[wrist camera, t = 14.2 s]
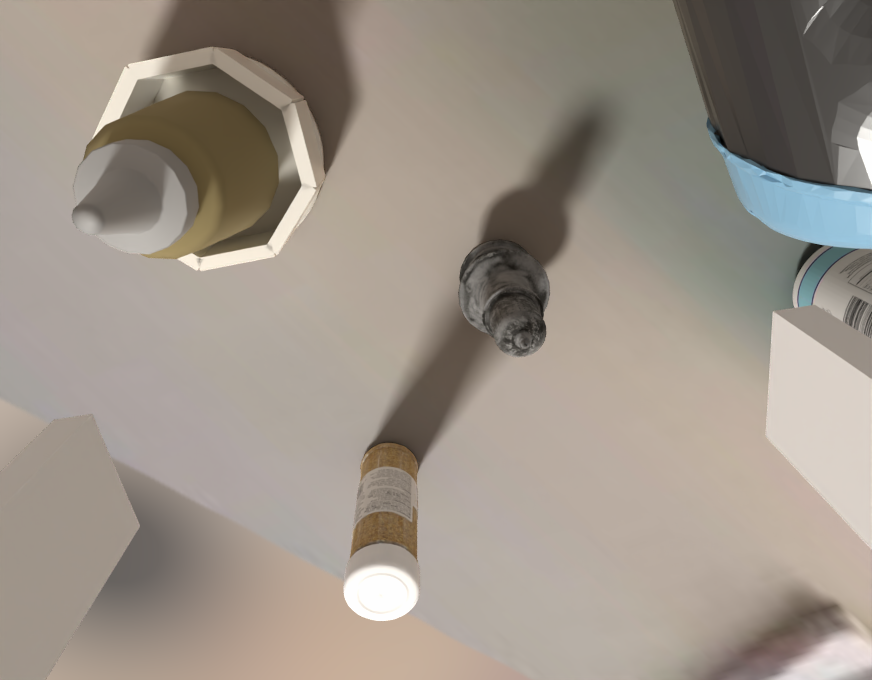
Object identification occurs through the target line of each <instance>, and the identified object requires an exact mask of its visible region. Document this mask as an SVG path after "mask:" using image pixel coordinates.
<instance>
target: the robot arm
mask: <svg viewBox="0 0 872 680" xmlns="http://www.w3.org/2000/svg"><path fill="white" fill-rule="evenodd" d="M673 3H674V6H675V9H676V12H677V16H678V19H679V22H680V26H681V29H682V32H683V35H684V39H685V42H686V45H687V48H688V52H689V55H690V58H691V61H692V65H693V68H694V71H695V74H696V78H697V81H698V84H699V87H700V91H701V94H702V97H703V101H704V104H705V107H706V110H707V114H708V120H707V123H706V124H707V128H708V132H709V136H710V138H711V140H712V142H713V144H714V146H715V147H716V148H717V149H718V150H719V151H720V153H721V154H722V155H723V158H724V160H725V163H726V166H727V169H728V171H729V174H730V177H731V180H732V182H733V185H734V188H735V191H736V193H737V195H738V198H739V200H740V201H741V203H742V204H743V205H744V207H745V208H746V210H747V211H748V212H749V213H750V214H752V215H754V216H756V217H757V218H759V219H760V220H761V221H762V222H763V223H764V224H766V225H767V226H768V227H769V228H771V229H773V230H774V231H776V232H779V233H781V234H784V235H786V236H789V237H792V238H795V239H799V240H802V241H806V242H810V243H815V244H820V245H826V246H833V247H842V248H856V249H872V0H673ZM766 437H767V438H768V440H769V441H770V442H771V443H772V444H773V445H774V446H775V447H776V448H777V449H778V450H779V451H780V452H781V453H782V455H783V456H784V457H785V458H786V459H787V460H788V461H789V462H790V463H791V464H792V465H793V466H794V467H795V468H796V469H797V471H798V472H799V473H800V474H801V475H802V476H803V477H804V478H805V479H806V480H807V481H808V482H809V483H810V484H811V486H812V487H813V488H814V489H815V490H816V491H817V492H818V493H819V494H820V495H821V496H822V497H823V498H824V499H825V500H826V502H827V503H828V504H829V505H830V506H831V507H832V508H833V509H834V510H835V511H836V512H837V513H838V514H839V515H840V516H841V518H842V519H843V520H844V521H845V522H846V523H847V524H848V525H849V526H850V527H851V528H852V529H853V530H854V531H855V533H856V534H857V535H858V536H859V537H860V538H861V539H862V540H863V541H864V542H865V543H866V544H867V545H868V546H869V547H870V549H871V550H872V339H871V338H869V337H867V336H866V335H864V334H862V333H861V332H859V331H857V330H856V329H854V328H852V327H851V326H849V325H847V324H846V323H844V322H842V321H841V320H839V319H837V318H836V317H834V316H832V315H831V314H829V313H827V312H826V311H824V310H822V309H821V308H819V307H818V306H816V305H810V306H803V307H797V308H790V309H784V310H777V311H773V320H772V337H771V354H770V371H769V388H768V404H767V421H766ZM139 527H140V525H139V523H138V520H137V518H136V515H135V513H134V511H133V509H132V506H131V504H130V502H129V499H128V497H127V495H126V492H125V490H124V487H123V485H122V483H121V480H120V478H119V476H118V473H117V471H116V469H115V466H114V464H113V462H112V459H111V457H110V454H109V452H108V450H107V447H106V445H105V443H104V440H103V438H102V436H101V433H100V431H99V429H98V426H97V424H96V422H95V419H94V417H93V415H92V414H88V415H82V416H75V417H69V418H62V419H55V420H53V421H52V422H51V423H50V424H49V425H48V426H47V427H46V428H45V429H44V430H43V431H42V432H41V433H40V434H39V435H38V436H37V437H36V438H35V439H34V440H33V441H32V442H30V443H29V444H28V445H27V446H26V447H25V448H24V449H23V450H22V451H21V452H20V453H19V454H18V455H17V456H16V457H15V458H14V459H13V460H12V461H11V462H10V463H9V464H8V465H7V466H6V467H4V468H3V469H2V470H1V471H0V680H46V679H47V677H48V675H49V674H50V672H51V671H52V669H53V667H54V666H55V664H56V662H57V661H58V659H59V657H60V656H61V654H62V653H63V651H64V649H65V648H66V646H67V644H68V643H69V641H70V640H71V638H72V636H73V635H74V633H75V631H76V630H77V628H78V626H79V625H80V623H81V622H82V620H83V618H84V617H85V615H86V613H87V612H88V610H89V609H90V607H91V605H92V604H93V602H94V600H95V599H96V597H97V595H98V594H99V592H100V591H101V589H102V587H103V586H104V584H105V582H106V581H107V579H108V578H109V576H110V574H111V573H112V571H113V569H114V568H115V566H116V564H117V563H118V561H119V560H120V558H121V556H122V555H123V553H124V551H125V550H126V548H127V547H128V545H129V543H130V542H131V540H132V538H133V537H134V535H135V533H136V532H137V530H138V529H139Z"/></svg>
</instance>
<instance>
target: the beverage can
mask: <svg viewBox="0 0 872 680" xmlns="http://www.w3.org/2000/svg"><path fill="white" fill-rule="evenodd" d="M793 304H794V308H797V307H803V306H810V305H816V306H818V307H819V308H821V309H822V310H824V311H826V312H827V313H829V314H831V315H832V316H834V317H836V318H837V319H839V320H841V321H842V322H844V323H846V324H847V325H849V326H851V327H852V328H854V329H856V330H857V331H859V332H861V333H862V334H864V335H866V336H867V337H869V338H871V339H872V249H856V248H842V247H833V246H826V245H825V246H823V247H822V248H820V249H819V250H817V251H816V252H815V253H814V254H813V255H812V256H811V257H810V258H809V259H808V260H807V261H806V262H805V264H804V265H803V266H802V268H801V270H800V271H799V273H798V275H797V278H796V280H795V283H794V287H793Z"/></svg>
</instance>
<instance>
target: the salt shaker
mask: <svg viewBox="0 0 872 680" xmlns="http://www.w3.org/2000/svg"><path fill="white" fill-rule="evenodd" d="M458 294H459V304H460V307H461V309H462V312H463V314H464V316H465V317H466V319H467V320H468V321H469V322H470V324H471V325H473V326H474V327H475V328H477V329H478V330H480V331H482V332H484V333H487V334H489V335H491V336H492V337H493V338H494V339H495V342H496V344H497V346H498V347H499V348H500V349H501V350H502V351H503V352H504V353H506V354H507V355H510V356H512V357H526V356H528V355H531V354H533V353H535V352H536V351H537V350H538V349H539V348H540V347H541V346H542V345H543V343H544V341H545V337H546V325H545V322H544V320H543V316H544V311H545V309H546V307H547V304H548V300H549V296H550V286H549V280H548V277H547V274H546V272H545V270H544V269H543V267H542V266H541V265H540V263H539V262H538V261H537V260H535V259H534V258H533V257H532V256H531V255H529V254H528V253H527V251H525V250H524V249H523V248H522V247H521V246H519V245H517V244H515V243H513V242H510V241H505V240H494V241H488V242H486V243H483V244H481V245H479V246H478V247H476V248H475V249H473V250H472V251H471V252H470V253H469V255H468V256H467V257H466V258H465V260H464V262H463V264H462V267H461V271H460V287H459V292H458Z"/></svg>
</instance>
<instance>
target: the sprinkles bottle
mask: <svg viewBox="0 0 872 680" xmlns="http://www.w3.org/2000/svg"><path fill="white" fill-rule="evenodd" d="M360 469H361V480H360V484H359V487H358V493H357V501H356V509H355V516H354V524H353V532H352V548H351V555H350V559H349V561H348V563H347V566H346V570H345V578H344V597H345V600H346V602H347V604H348V605H349V607H350V608H351V609H352V610H353V611H354V612H356V613H357V614H358V615H360V616H362V617H365V618H367V619H371V620H377V621H386V620H392V619H396V618H398V617H401V616H403V615H405V614H406V613H408V612H409V611H410V610H411V609H412V608H413V607H414V606H415V604H416V602H417V600H418V598H419V594H420V568H419V565H418V561H417V519H418V489H417V473H418V463H417V460H416V458H415V456H414V455H413V453H412V452H411V451H410V450H409V449H407V448H406V447H405V446H402V445H398V444H395V443H382V444H379V445H376V446H375V447H373V448H371V449H370V450H369V451H367V453H366V454H365V455H364V457H363V459H362V463H361V467H360Z"/></svg>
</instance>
